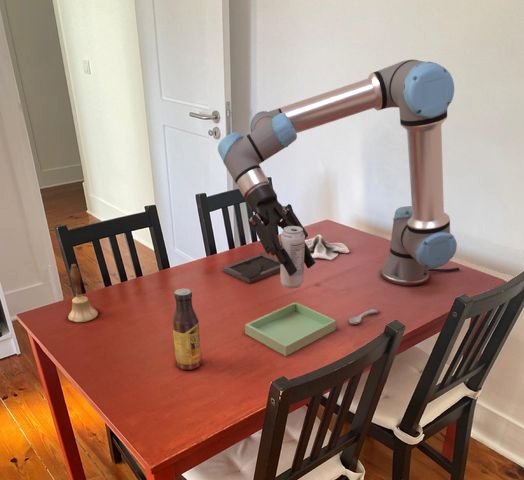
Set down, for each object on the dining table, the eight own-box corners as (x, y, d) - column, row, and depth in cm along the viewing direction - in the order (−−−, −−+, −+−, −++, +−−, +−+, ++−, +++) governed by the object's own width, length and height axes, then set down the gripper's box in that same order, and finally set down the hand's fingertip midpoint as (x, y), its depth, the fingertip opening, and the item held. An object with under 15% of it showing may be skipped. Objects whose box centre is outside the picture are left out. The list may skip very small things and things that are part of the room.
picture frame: (249, 283, 172) (288, 268, 182) (249, 277, 171) (288, 262, 181) (223, 271, 180) (262, 257, 190) (223, 266, 179) (262, 252, 189)
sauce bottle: (197, 372, 129) (191, 299, 118) (173, 369, 130) (164, 297, 120) (205, 358, 135) (199, 287, 124) (181, 355, 136) (174, 285, 125)
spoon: (346, 323, 149) (346, 317, 148) (370, 312, 156) (371, 306, 155) (354, 327, 147) (355, 321, 146) (379, 315, 155) (380, 309, 154)
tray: (295, 310, 156) (295, 301, 155) (335, 329, 146) (336, 320, 145) (245, 333, 145) (245, 324, 143) (285, 356, 135) (285, 346, 134)
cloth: (356, 249, 196) (358, 233, 193) (327, 264, 184) (328, 248, 181) (308, 235, 209) (309, 220, 205) (278, 249, 197) (278, 233, 194)
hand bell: (89, 306, 159) (78, 256, 150) (103, 315, 154) (93, 264, 145) (63, 315, 154) (51, 264, 146) (77, 325, 149) (65, 273, 141)
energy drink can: (294, 277, 142) (295, 223, 134) (308, 285, 138) (310, 230, 130) (275, 283, 139) (276, 228, 131) (289, 291, 135) (290, 235, 127)
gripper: (276, 192, 143) (319, 265, 142) (222, 207, 132) (268, 287, 131) (291, 175, 137) (335, 252, 136) (235, 190, 126) (283, 274, 125)
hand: (302, 269), depth 133 cm, fingers closed on energy drink can, 6 cm apart
